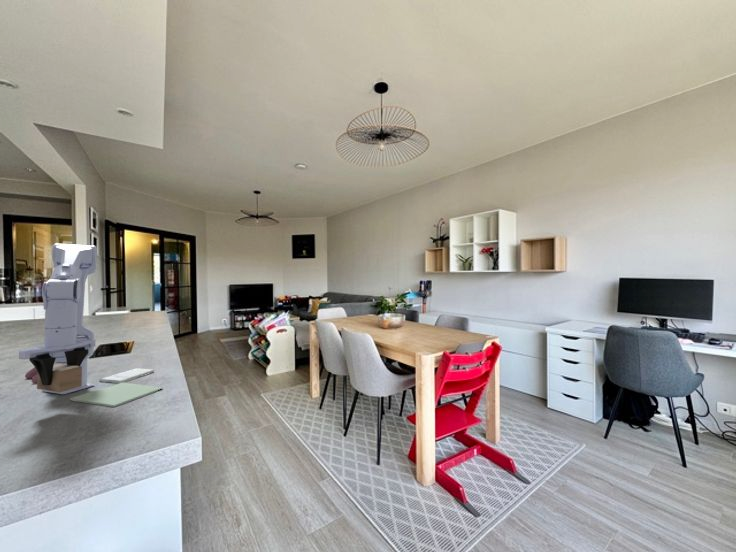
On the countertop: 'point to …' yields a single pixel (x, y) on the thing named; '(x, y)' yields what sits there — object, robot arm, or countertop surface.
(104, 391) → the sage mat
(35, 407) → the countertop surface
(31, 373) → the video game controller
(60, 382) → the labeled brown box
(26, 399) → the countertop surface
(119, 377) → the external hard drive
